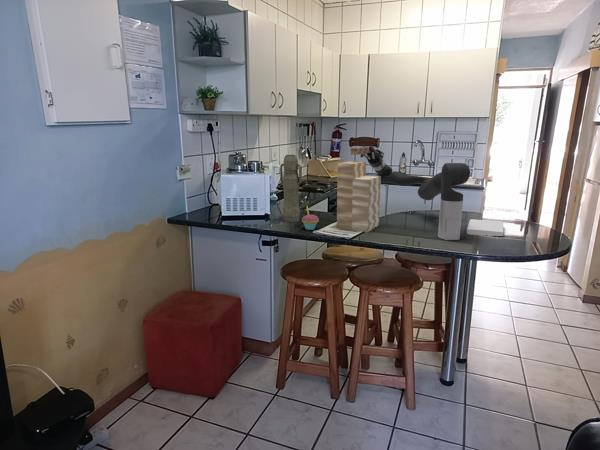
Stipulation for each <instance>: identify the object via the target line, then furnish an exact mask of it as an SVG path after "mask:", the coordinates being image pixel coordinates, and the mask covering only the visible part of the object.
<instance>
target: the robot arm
mask: <svg viewBox="0 0 600 450" xmlns="http://www.w3.org/2000/svg"><path fill="white" fill-rule="evenodd" d="M368 146H369V150H370V151H371V152H372V153H365V154H360V158H363V157H364V158H365V159H367V162H368V164H369V165H370V167H371V169H373V170H374V172H375V173H376V176H381V183H383V184H394V185H398V186H401V187H407V186H411V185H412V186H413V185H416V184H417V185H418V184H419V185H420V186H419V188H418V189H417V196H418V197H420V199H422V200H424V201H431V200H434V198H435V197H437V196H438V195H440V204H439V205H440V206H439V218H438V229H437V237H438V238H439V239H442V240H445V241H460V238H461V227H462V216H463V203H464V194H463V193H462V192H459V191H457V190H454V189H453V188H455V187H456V186H460V185H465V184H466V183H467V182H468V180H469V179H470V177H471V169H470V167H469V165H468V164H466V163H463V162H447V163H444V164H443V165H442V166H441V171H440V172H438V173H437V174H435V175H433V176H432V177H427V176H420V175H413V174H412V175H410V174H406V173H402V172H400V171H397V170H396V171H393V167H391V166H390V165H388V164H387V163H385V160H384V159H383V158H384V156H385V153H384V152H383V151H381V150H379V149H378V148H375V147H374V148H373V147H372V145H368ZM362 147H366V145H362Z"/></svg>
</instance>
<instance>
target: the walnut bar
mask: <svg viewBox="0 0 600 450" xmlns="http://www.w3.org/2000/svg"><path fill="white" fill-rule="evenodd" d="M369 146H370V145H368V146H365V147H363V146H362V147H361V146H359V147H351V148H350V155H355V156H357V155H361V154H365V153H372V152H371V151H370V150H369ZM371 146H372V145H371ZM372 147H373V148H374V149H375V146H374V145H373V146H372Z"/></svg>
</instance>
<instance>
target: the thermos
mask: <svg viewBox="0 0 600 450" xmlns="http://www.w3.org/2000/svg"><path fill="white" fill-rule="evenodd" d="M302 175H303V167H302V165H301V164H300V163H299V159H298V157H297V155H295V154H286V155H284V158H283V163H281V164H280V166H279V177H280V183H281V184H282V189H283V208H282V212H283V221H284V222H286V223H297V222H299V221H300V216H301V215H300V213H301V212H300V209H301V208H300V206H299V204H300V203H299V200H300V199H299V195H300V194H299V190H300V184H302V183H303V180H302V179H303V177H302Z"/></svg>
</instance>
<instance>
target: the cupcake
mask: <svg viewBox="0 0 600 450" xmlns="http://www.w3.org/2000/svg"><path fill="white" fill-rule="evenodd" d="M306 212H307V214H305V215H304V216H303V217H301V222H302V223H303V226H304V228H305V230H308V231H311V230H315V229H316V226H317V224H318V223H319V222H320V218H319V217H318V216H317V215H315V214H310V211H309V206H308V205H306Z"/></svg>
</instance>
